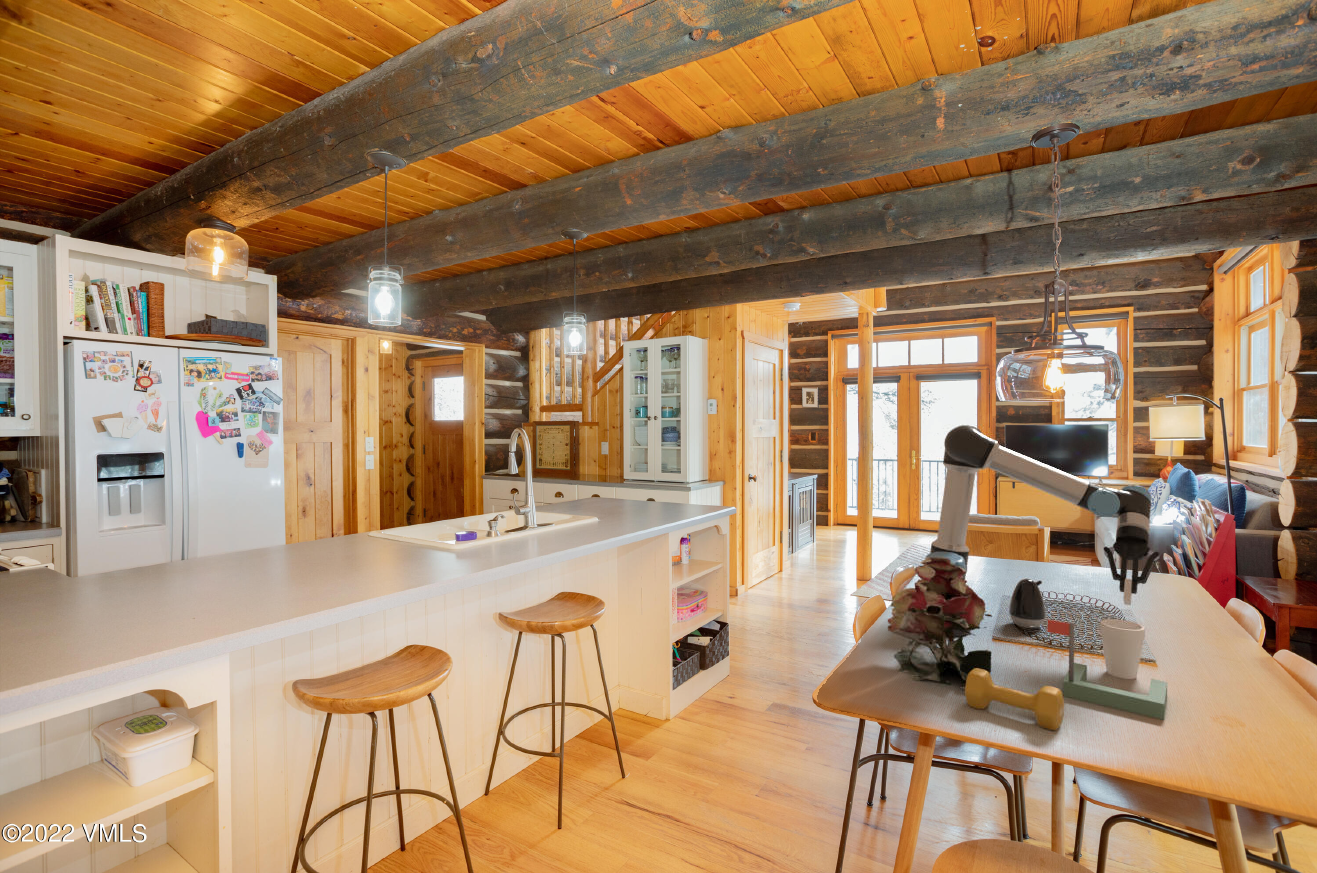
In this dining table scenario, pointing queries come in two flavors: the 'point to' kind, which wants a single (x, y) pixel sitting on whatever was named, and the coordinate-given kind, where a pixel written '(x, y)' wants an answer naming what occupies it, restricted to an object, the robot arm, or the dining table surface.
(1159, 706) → the putting pocket
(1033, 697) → the dumbbell
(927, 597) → the rose bouquet
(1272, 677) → the dining table surface
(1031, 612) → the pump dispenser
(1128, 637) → the foam cup
